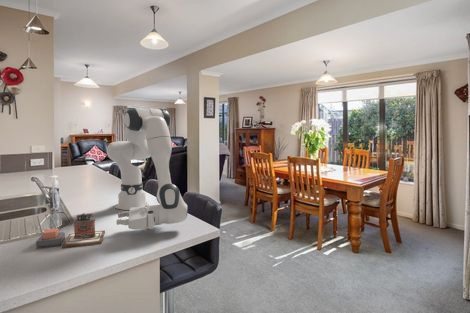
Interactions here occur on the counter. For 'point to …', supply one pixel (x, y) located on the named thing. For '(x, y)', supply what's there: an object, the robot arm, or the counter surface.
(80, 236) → the lighter
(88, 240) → the board
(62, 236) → the button housing
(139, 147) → the robot arm
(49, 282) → the counter surface
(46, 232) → the button
